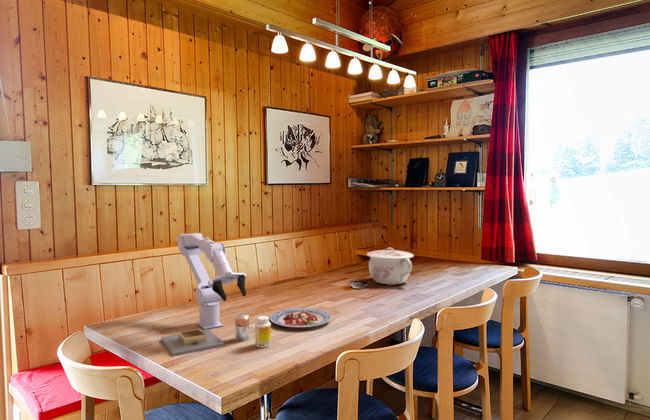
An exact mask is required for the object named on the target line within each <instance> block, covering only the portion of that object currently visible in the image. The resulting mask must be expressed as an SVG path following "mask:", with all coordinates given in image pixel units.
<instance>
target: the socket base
mask: <svg viewBox="0 0 650 420" xmlns="http://www.w3.org/2000/svg"><path fill="white" fill-rule="evenodd" d="M201 330H202V331H203V332H204V333H205V334H206V335H207V342H201V343H198V344H197V345H194V344H191V345H186V346H184V345H183V344H182V343H181V342H180V341H179V340H178V334H172V335H168V336H163V337H160V340H161V342H162V343H163V344H164V346H165V347H166V349H167V350H168V351H169V353H170V354H171V355H172V356H173V357H176V356H181V355H186V354H190V353H194V352H195V353H196V352H201V351H204V350H205V351H207V350H210V349H214V348H215V349H216V348H220V347H224V346H225V344H226V343H225V342H224V341H223V340H222V339H221V338H220V337H219V336H217V334H215V333H214V332H213V331H212V330H211V329H210V328H208V329H201Z"/></svg>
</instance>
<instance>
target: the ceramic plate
mask: <svg viewBox="0 0 650 420" xmlns="http://www.w3.org/2000/svg"><path fill="white" fill-rule="evenodd" d="M269 319H270V322H272V323H273V324H276V325H278V326H281V327H287V328H292V329H293V328H295V329H303V328H304V329H305V328H306V327H307V328H312V327H317V326H323V325H325V324H326V323H328V322H330V321H331V320H332V315H331V314H330V313H329V312H327V311H325V310H321V309H316V308H307V307H306V308H305V307H304V308H302V307H301V308H300V307H297V308H296V307H295V308H287V309H282V310H278V311H276V312H274V313H272V314H271V315H270V317H269ZM307 328H306V329H307Z"/></svg>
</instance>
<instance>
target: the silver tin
mask: <svg viewBox="0 0 650 420" xmlns="http://www.w3.org/2000/svg"><path fill="white" fill-rule="evenodd" d="M234 321H235V322H234V326H235V328H234V329H235V334H234V335H235V341H237V342H247V341H249V340H250V315H249V314H248V313H238V314H236V315H235V316H234Z"/></svg>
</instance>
